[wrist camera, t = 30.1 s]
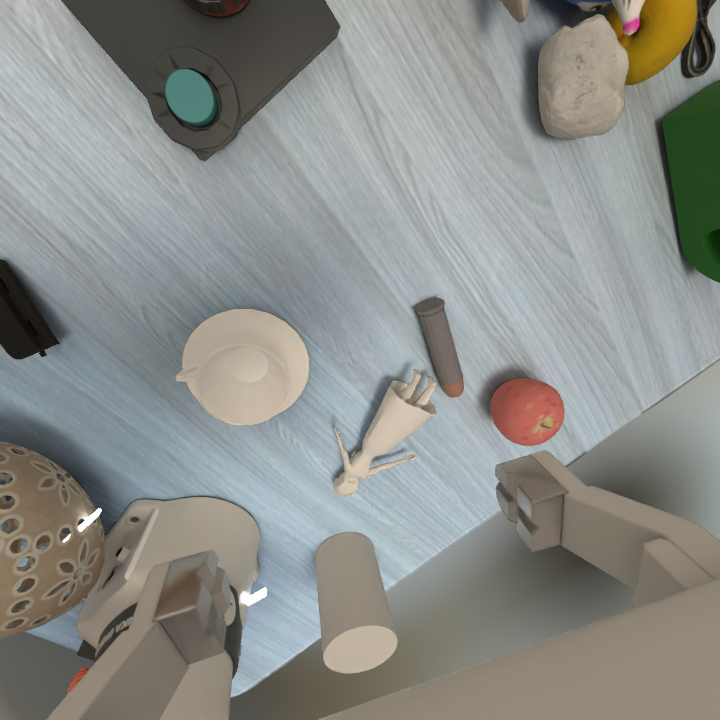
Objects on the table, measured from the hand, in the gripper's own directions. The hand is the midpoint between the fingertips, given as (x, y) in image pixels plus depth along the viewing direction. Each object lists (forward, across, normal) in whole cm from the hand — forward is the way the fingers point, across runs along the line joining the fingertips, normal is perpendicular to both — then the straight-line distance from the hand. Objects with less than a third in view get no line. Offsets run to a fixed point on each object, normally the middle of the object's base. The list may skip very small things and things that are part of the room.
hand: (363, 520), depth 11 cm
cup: (+29, +3, +36) cm, 47 cm away
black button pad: (+28, +2, -21) cm, 35 cm away
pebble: (+25, -28, -13) cm, 39 cm away
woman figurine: (+26, -10, +11) cm, 30 cm away
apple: (+28, -21, +18) cm, 39 cm away
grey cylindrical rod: (+28, -14, +9) cm, 33 cm away
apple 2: (+26, -34, -15) cm, 46 cm away
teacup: (+29, +7, +6) cm, 30 cm away
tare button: (+25, +4, -16) cm, 30 cm away
